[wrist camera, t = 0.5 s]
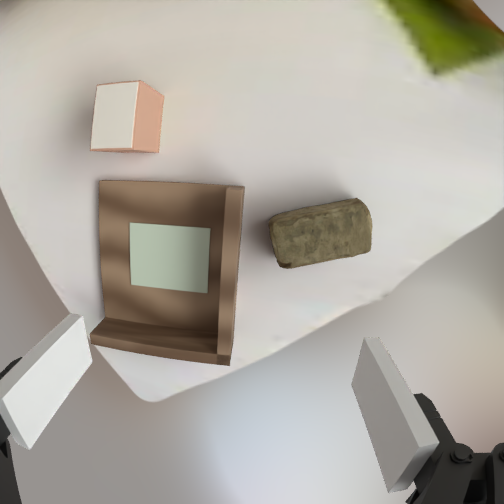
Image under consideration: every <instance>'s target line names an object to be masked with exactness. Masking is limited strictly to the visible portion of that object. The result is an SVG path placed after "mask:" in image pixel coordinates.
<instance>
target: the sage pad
mask: <svg viewBox="0 0 504 504" xmlns="http://www.w3.org/2000/svg"><path fill="white" fill-rule="evenodd" d="M210 230H211V228H200V227H187V226H174V225H160V224H146V223H132V222H130V268H131V285H138V286H146V287H154V288H163V289H172V290H181V291H190V292H199V293H208V270H209V249H210Z"/></svg>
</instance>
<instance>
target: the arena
mask: <svg viewBox="0 0 504 504" xmlns="http://www.w3.org/2000/svg"><path fill="white" fill-rule="evenodd" d="M244 189H245V187H243V186H230V185H215V184H199V183H180V182H157V181H120V180H101V181H99V240H100V261H101V276H102V289H103V299H104V309H105V318H104V319H103V320H102V321H101V322H100V323H99V324H98V326H97V327H96V328H95V329H94V330H93V331H92V332H91V333H90V339H91V344H94V345H99V346H103V347H108V348H113V349H118V350H123V351H129V352H134V353H140V354H145V355H151V356H157V357H164V358H170V359H177V360H185V361H192V362H200V363H208V364H217V365H227V366H230V359H231V353H232V346H233V338H234V323H235V309H236V295H237V281H238V267H239V253H240V240H241V227H242V214H243V202H244ZM130 222H132V223H146V224H160V225H174V226H187V227H200V228H211V230H210V249H209V270H208V293H199V292H190V291H181V290H172V289H163V288H154V287H146V286H138V285H131V268H130Z"/></svg>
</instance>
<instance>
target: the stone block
mask: <svg viewBox="0 0 504 504" xmlns="http://www.w3.org/2000/svg"><path fill="white" fill-rule="evenodd" d="M269 229H270V238H271V241H272V245H273V248H274V252H275V256H276V258H277V262H278V264H279V266H280V267H282V268H286V269H289V268H296V267H300V266H305V265H311V264H316V263H321V262H325V261H330V260H335V259H340V258H348V257H353V256H356V255H359V254H364V253H367V252H369V251H370V250H371V239H372V219H371V215H370V212H369V210H368V208H367V206H366V205H365V204H364V203H363V202H362V201H361V200H359V199H358V198H355V199H349V200H344V201H339V202H333V203H329V204H325V205H317V206H311V207H304V208H301V209H297V210H293V211H289V212H284V213H280V214H277V215H275V216H273V217H272V218H271V219H270V220H269Z"/></svg>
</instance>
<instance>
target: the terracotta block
mask: <svg viewBox="0 0 504 504" xmlns="http://www.w3.org/2000/svg"><path fill="white" fill-rule="evenodd" d="M163 103H164V96H163V95H162V94H160V93H159V92H157V91H156V90H154V89H153V88H151V87H150V86H149V85H147V84H146V83H144V82H143V81H141V80H139V81H127V82H116V83H107V84H99V85H97V88H96V95H95V103H94V112H93V121H92V132H91V145H90V151H104V152H121V153H125V152H155V153H159V146H160V133H161V122H162V112H163Z"/></svg>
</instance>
